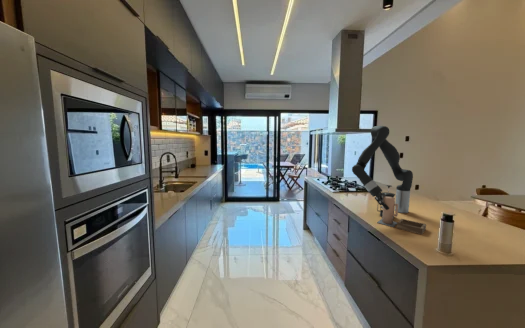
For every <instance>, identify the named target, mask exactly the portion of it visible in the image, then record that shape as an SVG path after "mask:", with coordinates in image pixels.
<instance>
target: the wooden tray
mask: <svg viewBox="0 0 525 328" xmlns="http://www.w3.org/2000/svg"><path fill="white" fill-rule="evenodd" d="M396 229H398V230H403V231H407V232H411V233H414V234H418V235H423V234H424V233H425V231H426V229H427V223H422V222H418V221H414V220H413V221H412V220H409V219H405V218H401V219H400V220H398V221H397V225H396Z"/></svg>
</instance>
